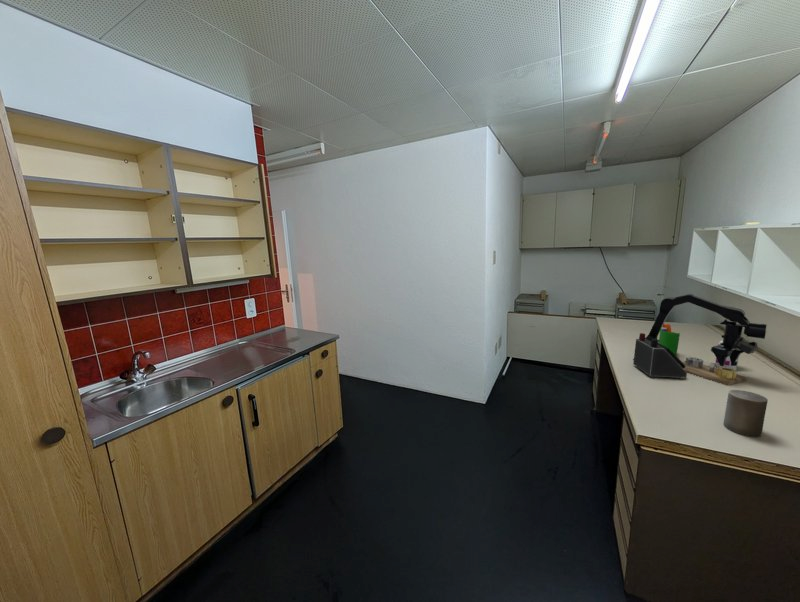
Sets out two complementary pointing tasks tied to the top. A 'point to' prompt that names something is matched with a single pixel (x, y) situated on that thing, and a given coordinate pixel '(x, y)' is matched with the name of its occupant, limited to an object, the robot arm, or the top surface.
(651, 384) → the top surface
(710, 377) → the board
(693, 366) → the steel gear
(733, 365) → the supplement can
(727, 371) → the brass gear
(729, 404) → the pillar candle
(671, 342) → the motor
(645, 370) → the voltmeter
